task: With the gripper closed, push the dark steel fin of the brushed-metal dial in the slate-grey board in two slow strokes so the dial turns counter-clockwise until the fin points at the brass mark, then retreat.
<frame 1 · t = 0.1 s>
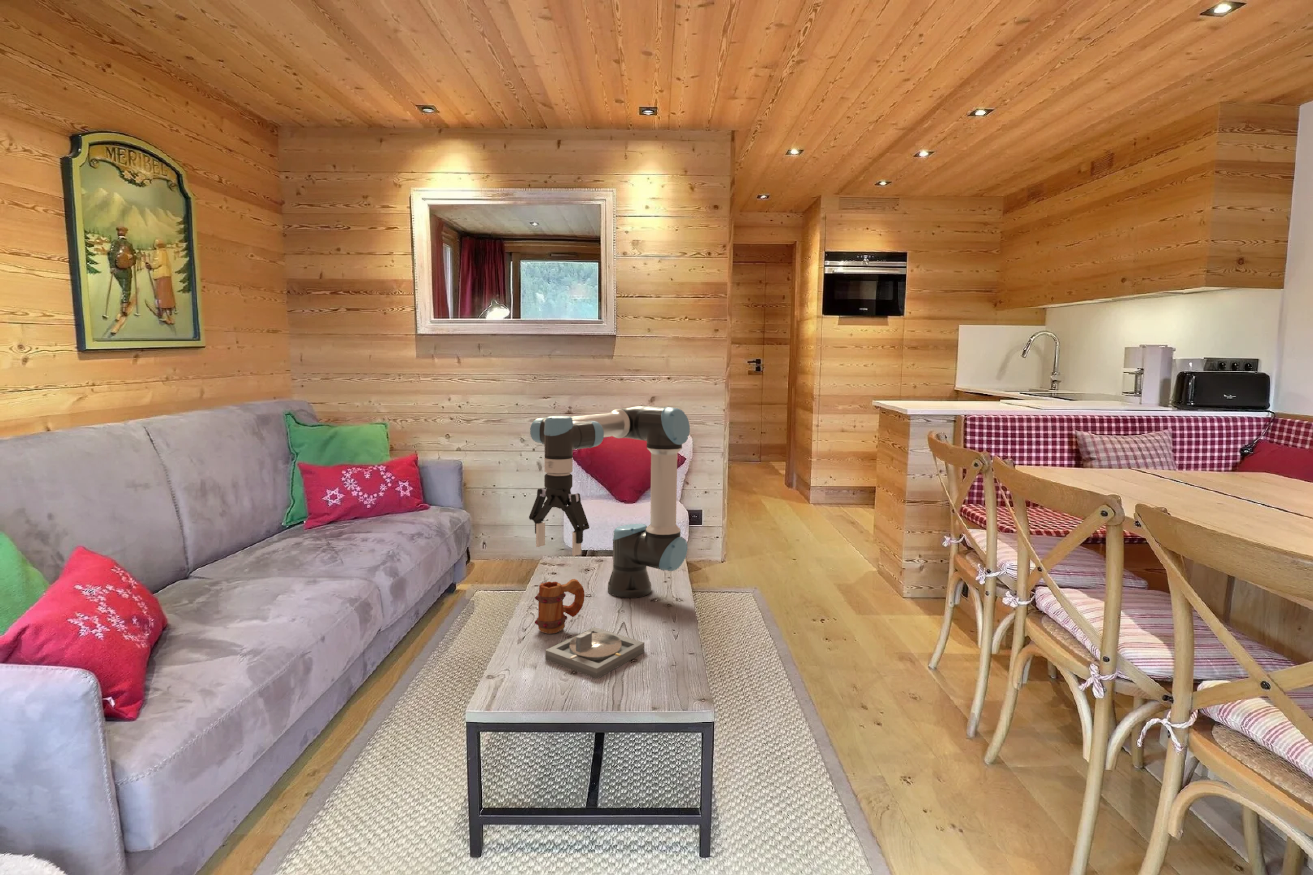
hand: (558, 550, 187), 28 cm above the table, fingers open, 13 cm apart
dial: (595, 639, 185), point 5 cm above the table, hinge at 0.0°
mug: (559, 630, 203), on the table
board: (595, 655, 186), on the table
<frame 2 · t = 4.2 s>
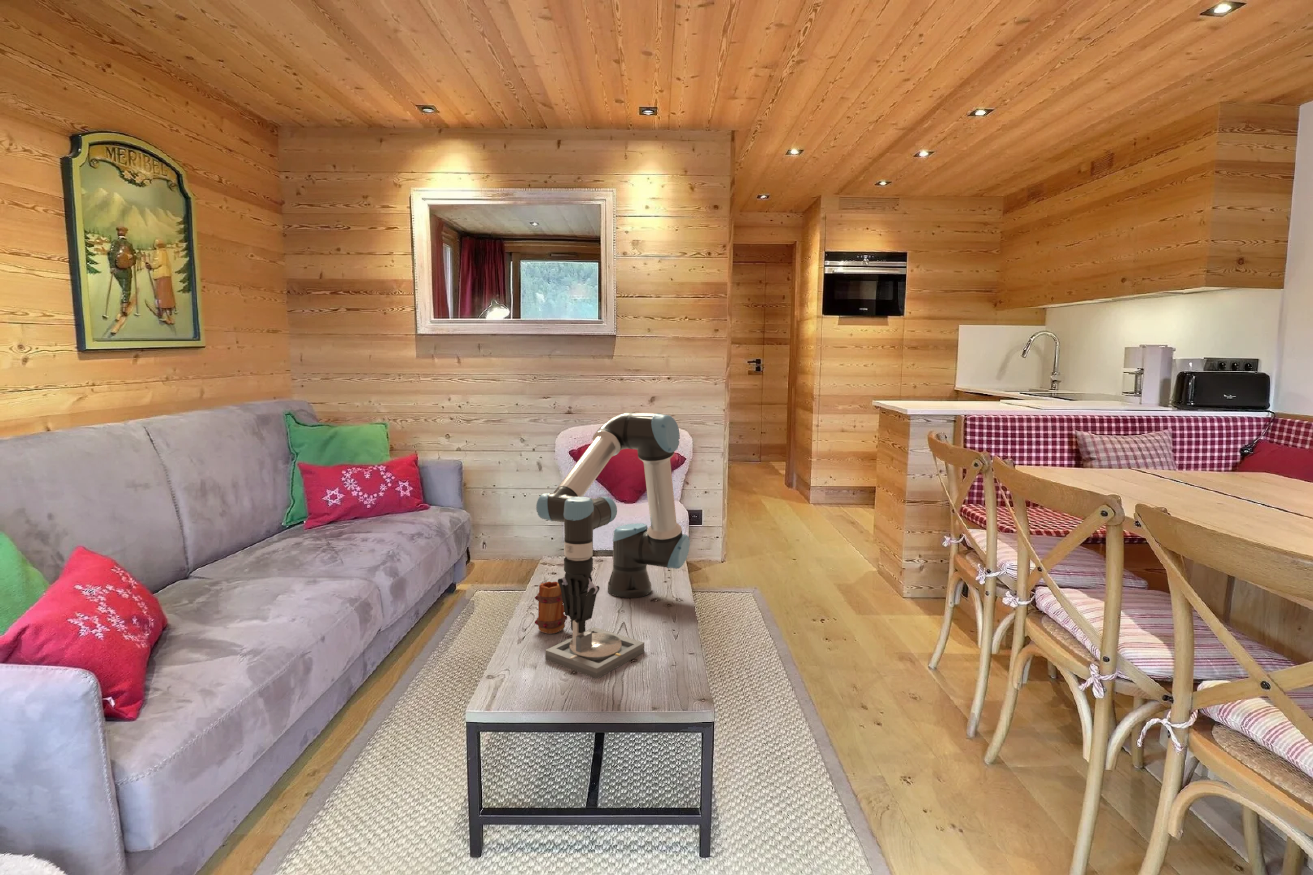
hand: (578, 643, 181), 5 cm above the table, fingers closed
dial: (595, 639, 185), point 5 cm above the table, hinge at 0.3°, touching gripper
everything else where it was.
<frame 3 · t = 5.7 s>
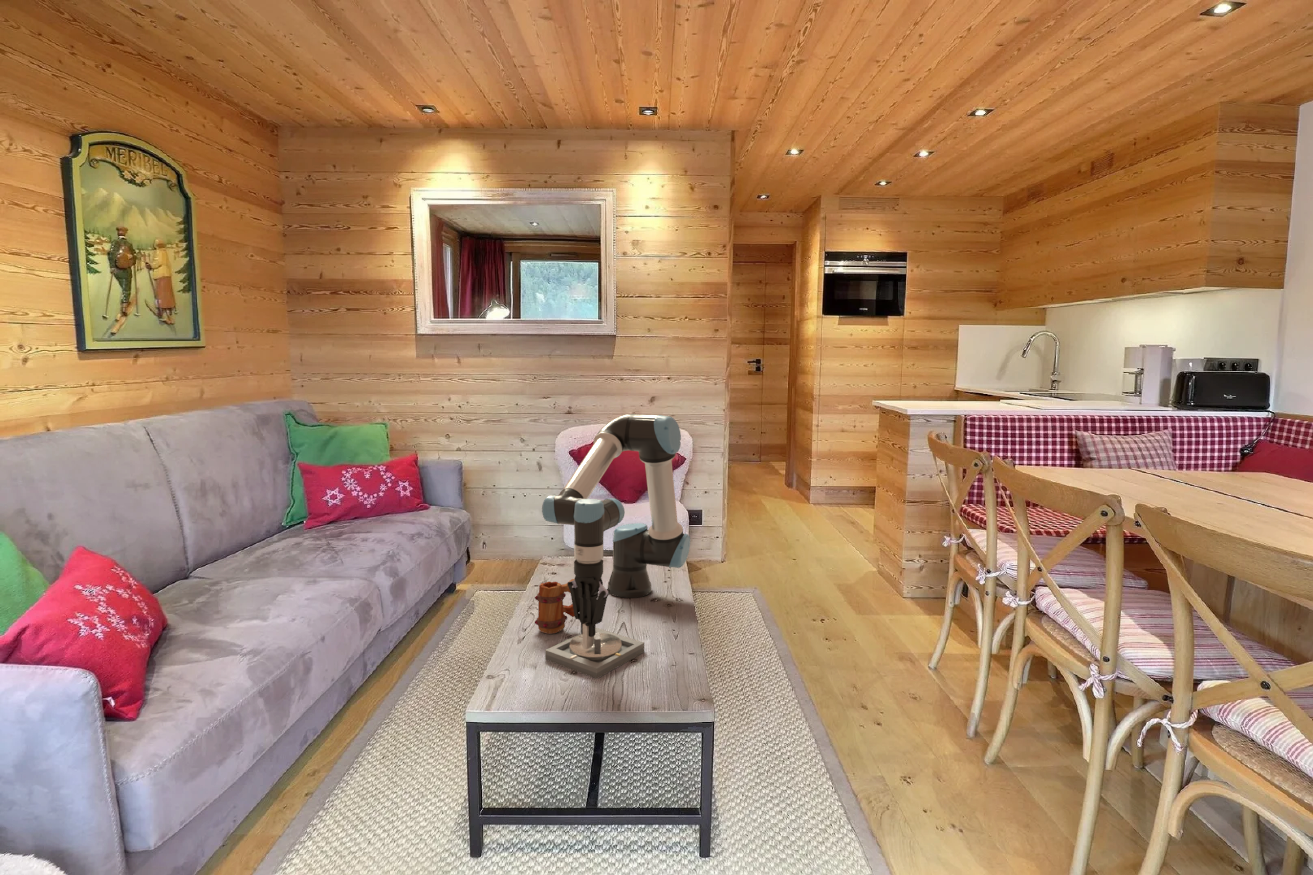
hand: (588, 646, 180), 5 cm above the table, fingers closed
dial: (595, 639, 185), point 5 cm above the table, hinge at 44.8°, touching gripper
everything else where it was.
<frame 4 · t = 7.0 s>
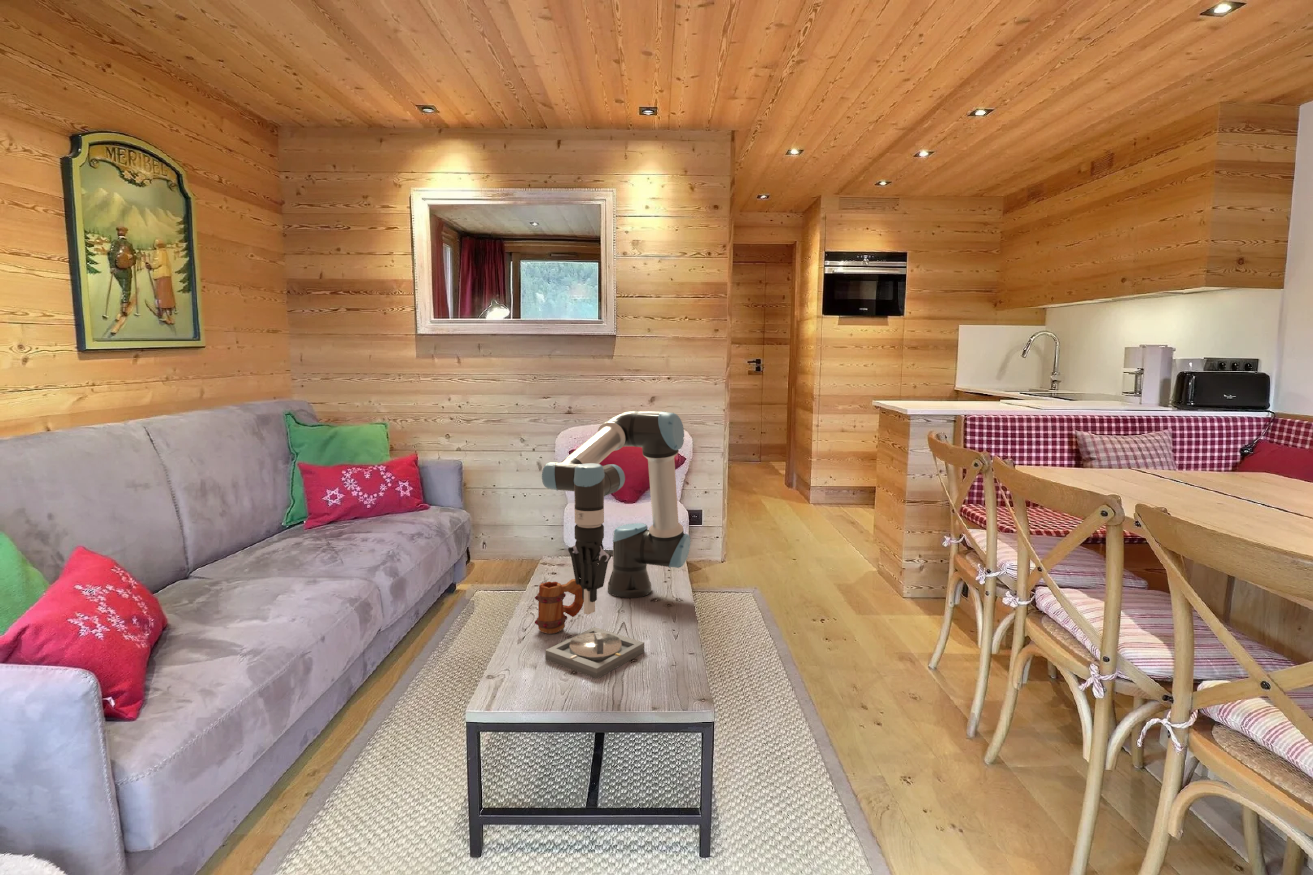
hand: (589, 612, 179), 14 cm above the table, fingers closed
dial: (595, 639, 185), point 5 cm above the table, hinge at 50.5°
everything else where it was.
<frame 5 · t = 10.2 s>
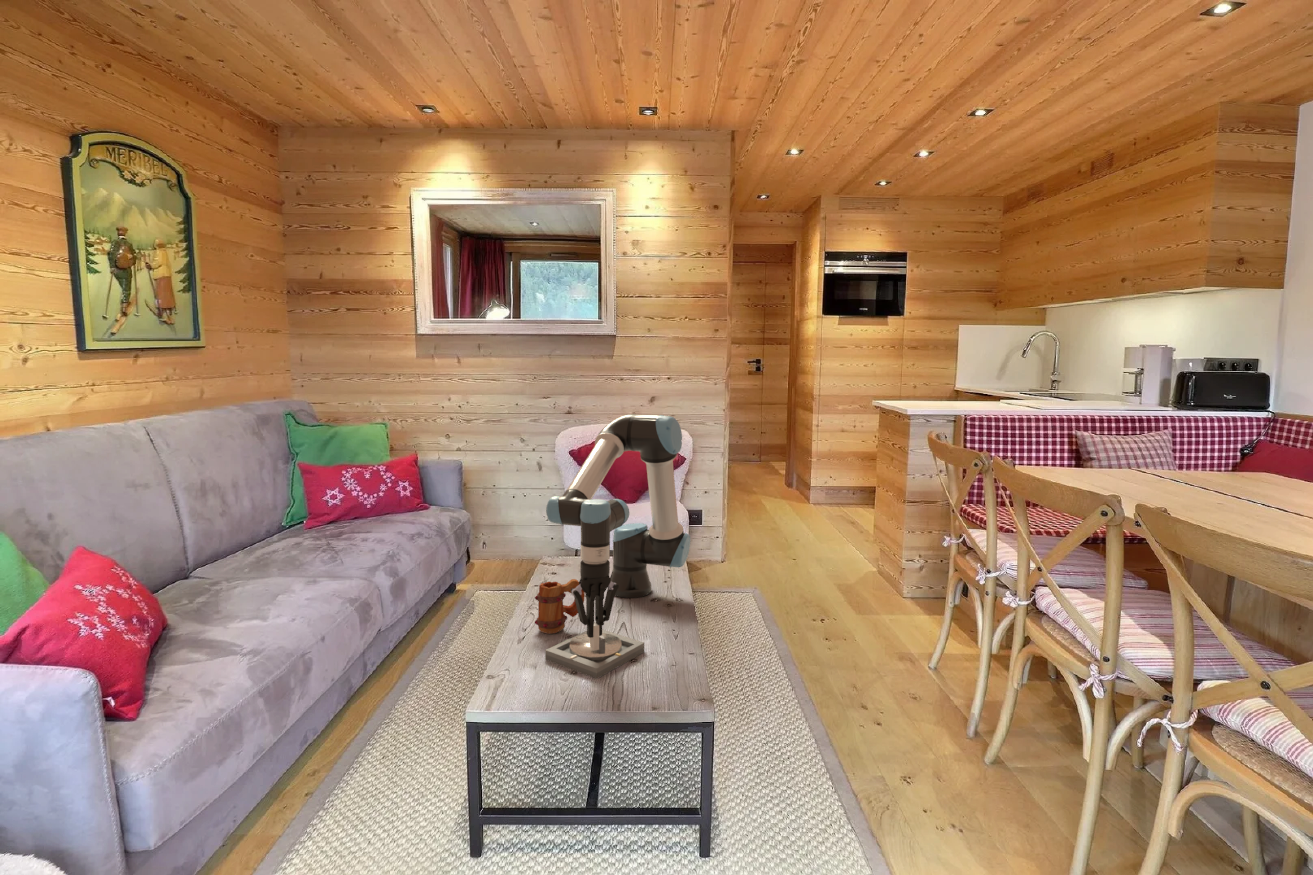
hand: (594, 647, 179), 5 cm above the table, fingers closed
dial: (595, 639, 185), point 5 cm above the table, hinge at 54.6°
everything else where it was.
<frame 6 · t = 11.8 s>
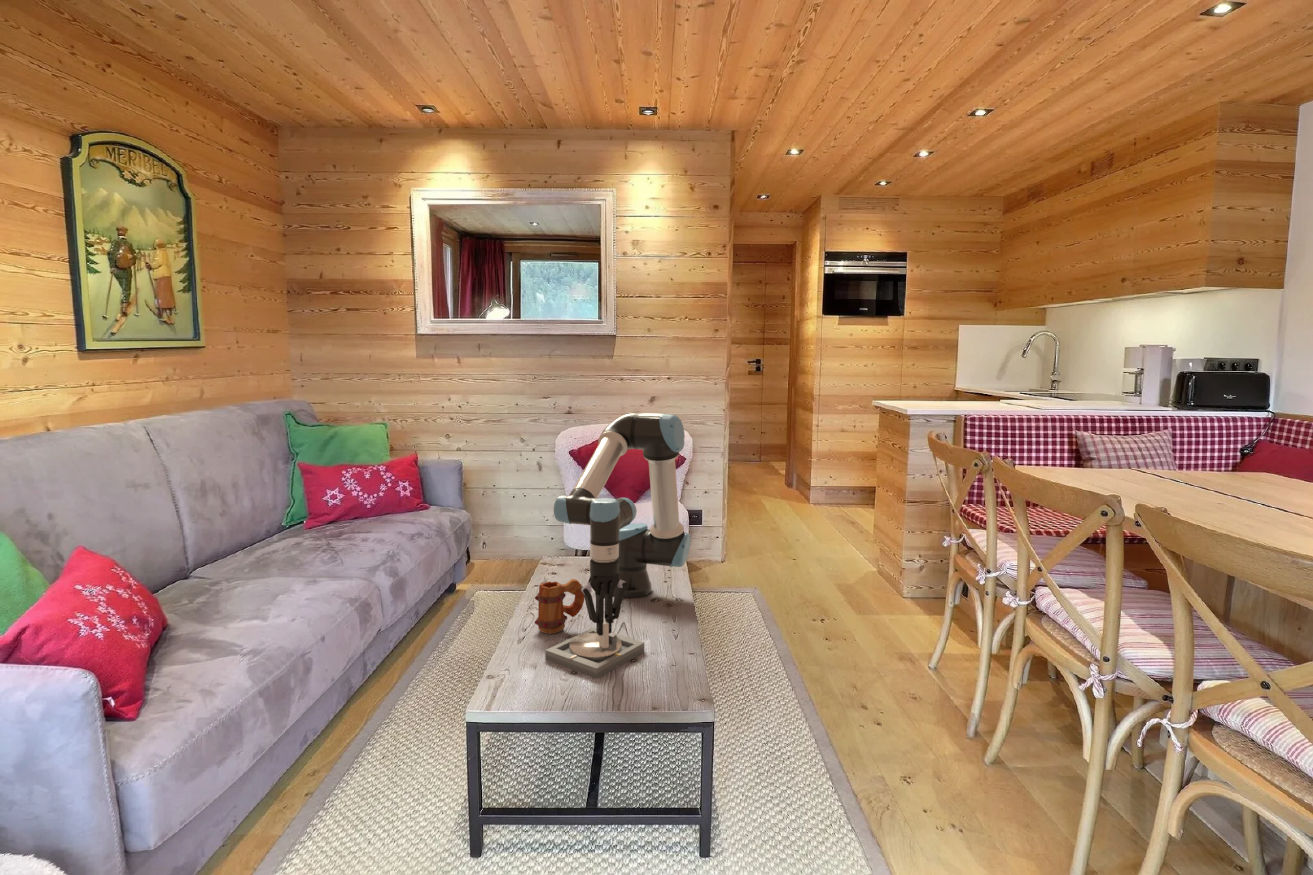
hand: (603, 645, 180), 5 cm above the table, fingers closed
dial: (595, 639, 185), point 5 cm above the table, hinge at 85.7°, touching gripper
everything else where it was.
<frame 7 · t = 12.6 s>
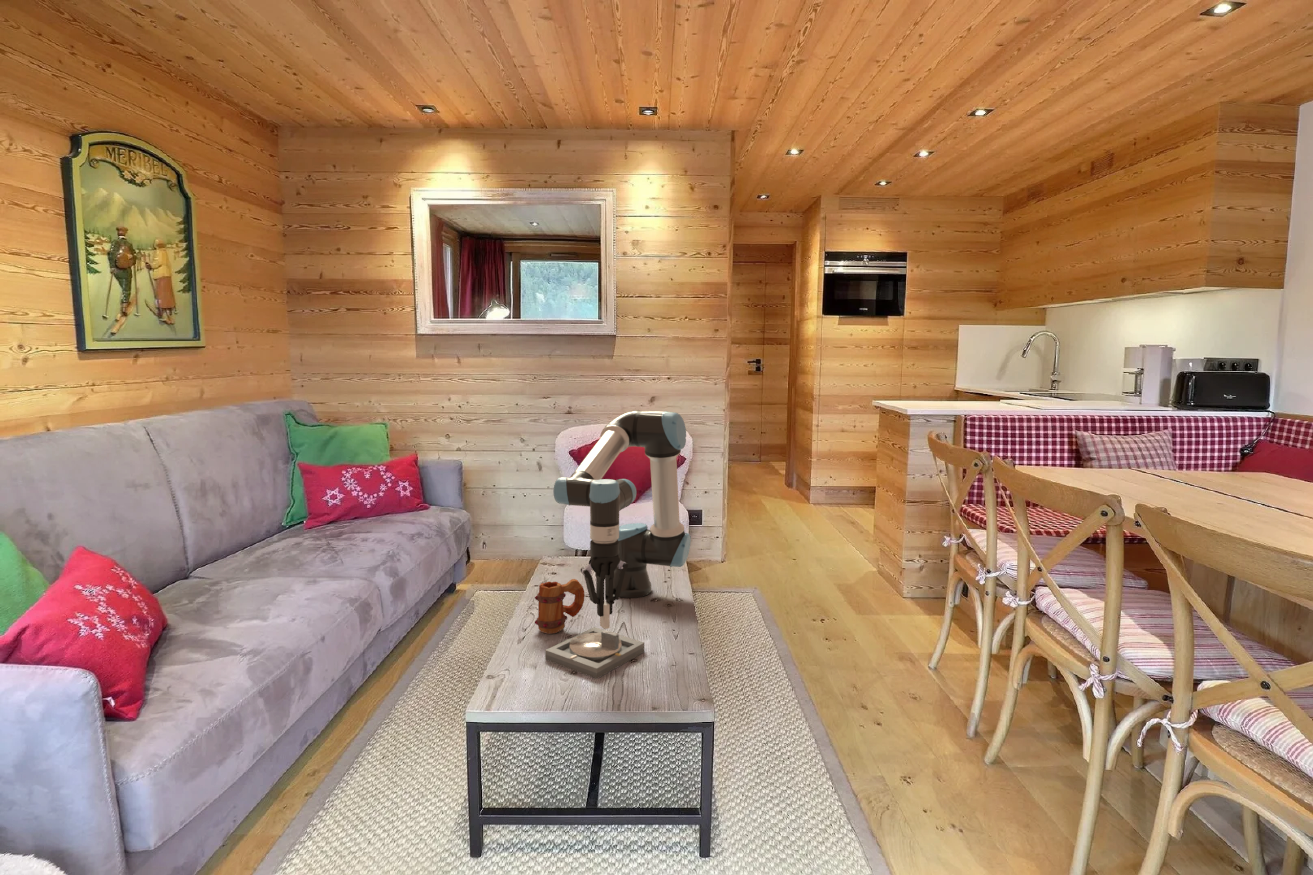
hand: (604, 626, 180), 10 cm above the table, fingers closed
dial: (595, 639, 185), point 5 cm above the table, hinge at 93.9°
everything else where it was.
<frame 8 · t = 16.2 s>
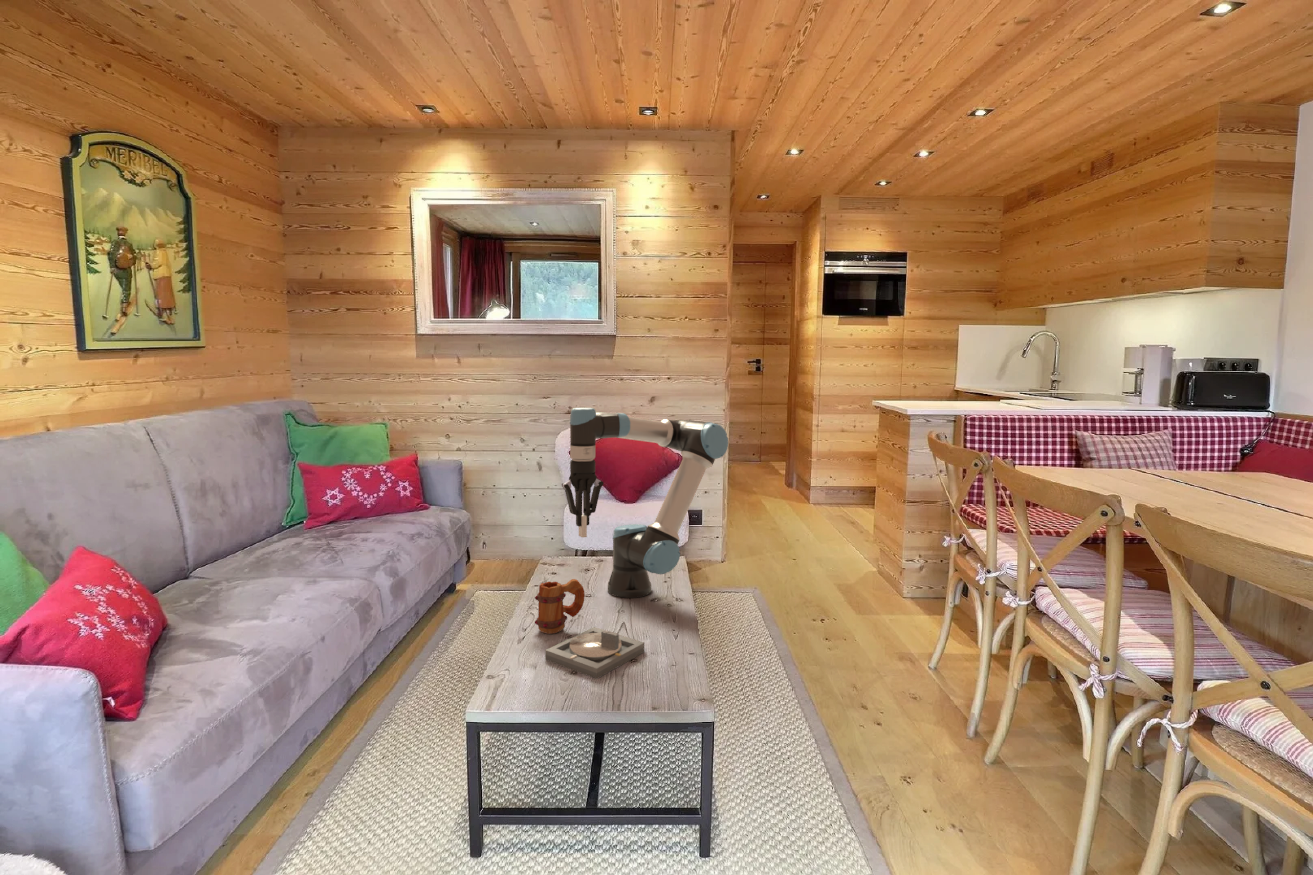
hand: (582, 536, 208), 26 cm above the table, fingers closed
nothing on the table moved.
at the end: dial at +94° (first picture: +0°) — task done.
